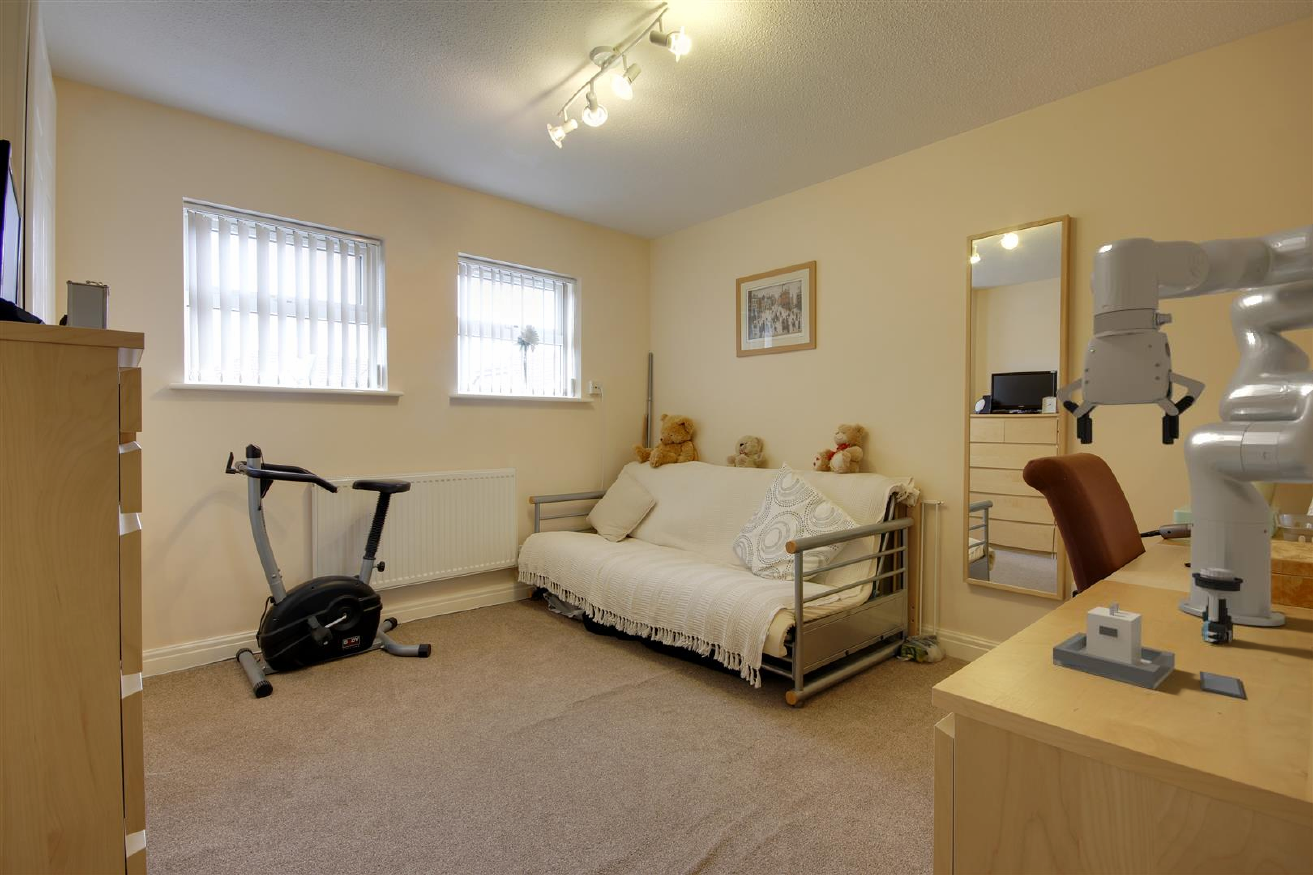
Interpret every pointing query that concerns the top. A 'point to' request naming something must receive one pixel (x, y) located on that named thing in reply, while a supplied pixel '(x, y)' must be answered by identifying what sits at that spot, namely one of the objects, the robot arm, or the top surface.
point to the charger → (1114, 634)
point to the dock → (1115, 663)
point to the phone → (1221, 685)
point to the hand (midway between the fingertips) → (1125, 444)
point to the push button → (1217, 602)
